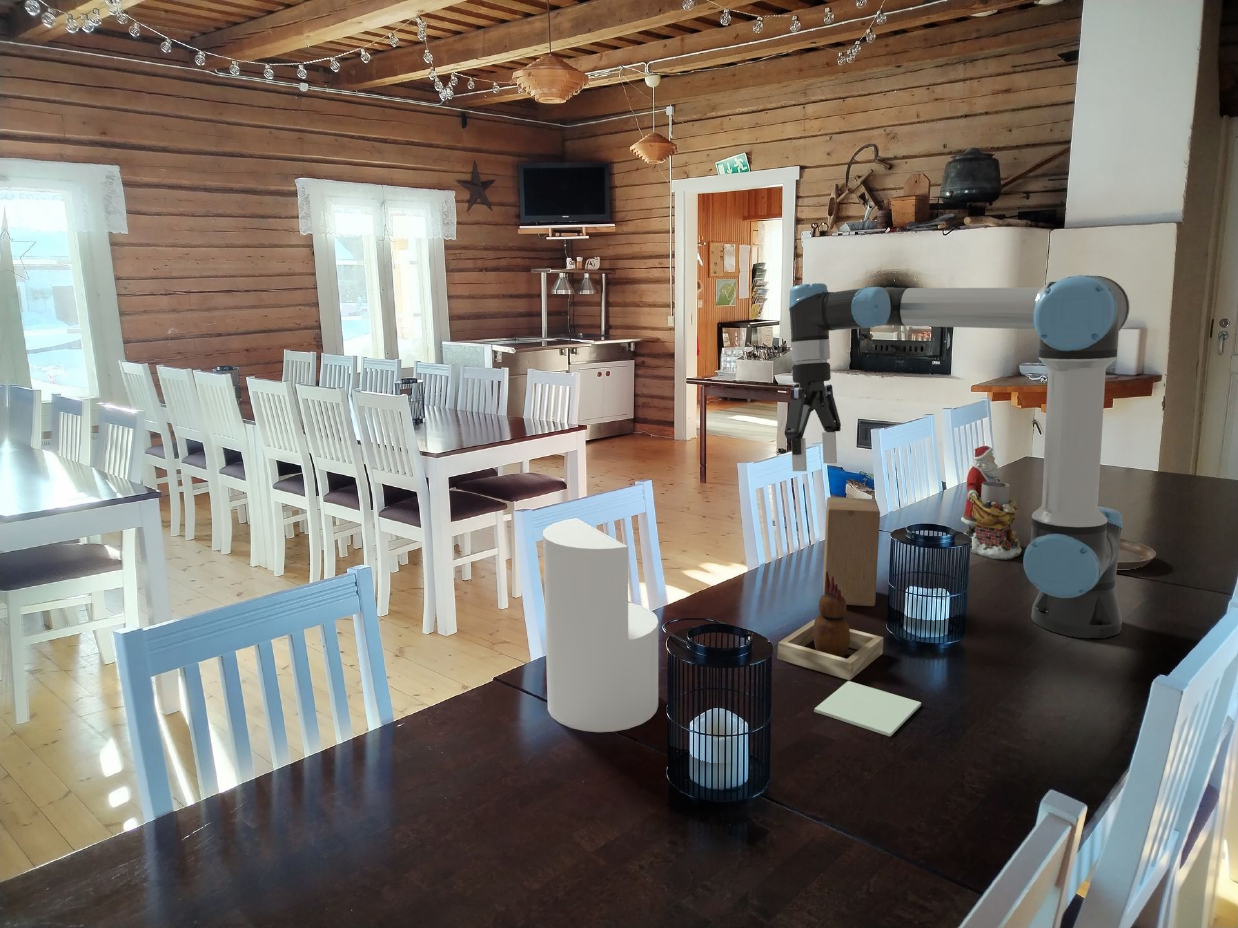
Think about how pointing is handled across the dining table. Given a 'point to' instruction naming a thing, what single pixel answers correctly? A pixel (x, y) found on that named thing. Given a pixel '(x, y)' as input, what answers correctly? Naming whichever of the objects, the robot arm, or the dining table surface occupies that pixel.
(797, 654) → the pale wood square frame
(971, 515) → the santa figurine
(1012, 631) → the dining table surface
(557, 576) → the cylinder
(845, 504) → the wooden block
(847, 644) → the wooden figurine
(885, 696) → the sage mat
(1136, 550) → the plant saucer
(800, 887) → the dining table surface
